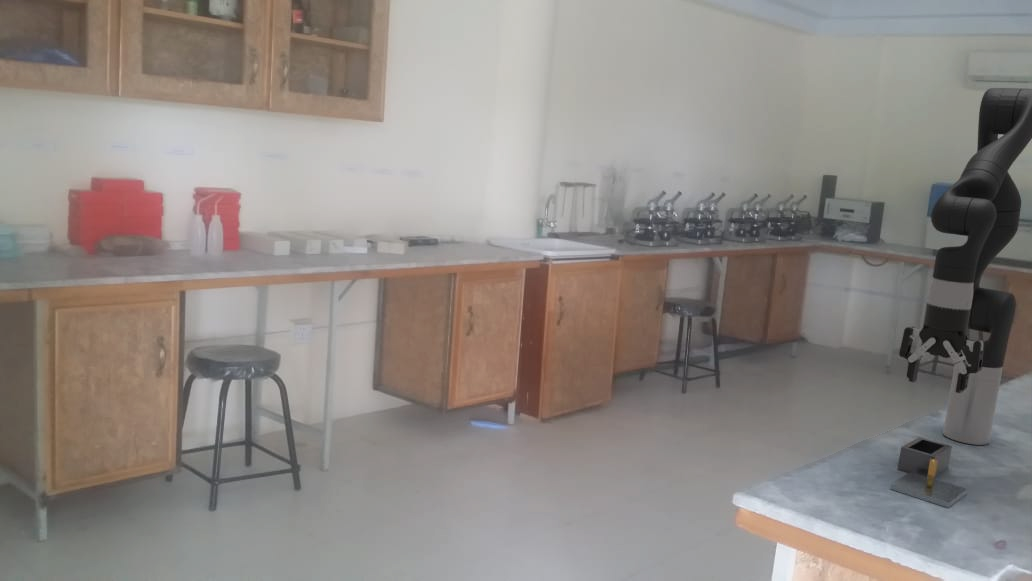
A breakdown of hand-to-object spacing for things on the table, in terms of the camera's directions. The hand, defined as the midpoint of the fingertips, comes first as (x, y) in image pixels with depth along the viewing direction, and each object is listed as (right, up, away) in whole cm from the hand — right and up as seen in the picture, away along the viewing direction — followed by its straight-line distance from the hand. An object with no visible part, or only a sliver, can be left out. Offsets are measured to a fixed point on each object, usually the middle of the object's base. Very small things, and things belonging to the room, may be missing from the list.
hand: (935, 386), depth 170 cm
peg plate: (-5, -18, -9) cm, 21 cm away
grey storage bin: (-1, -16, +3) cm, 17 cm away
